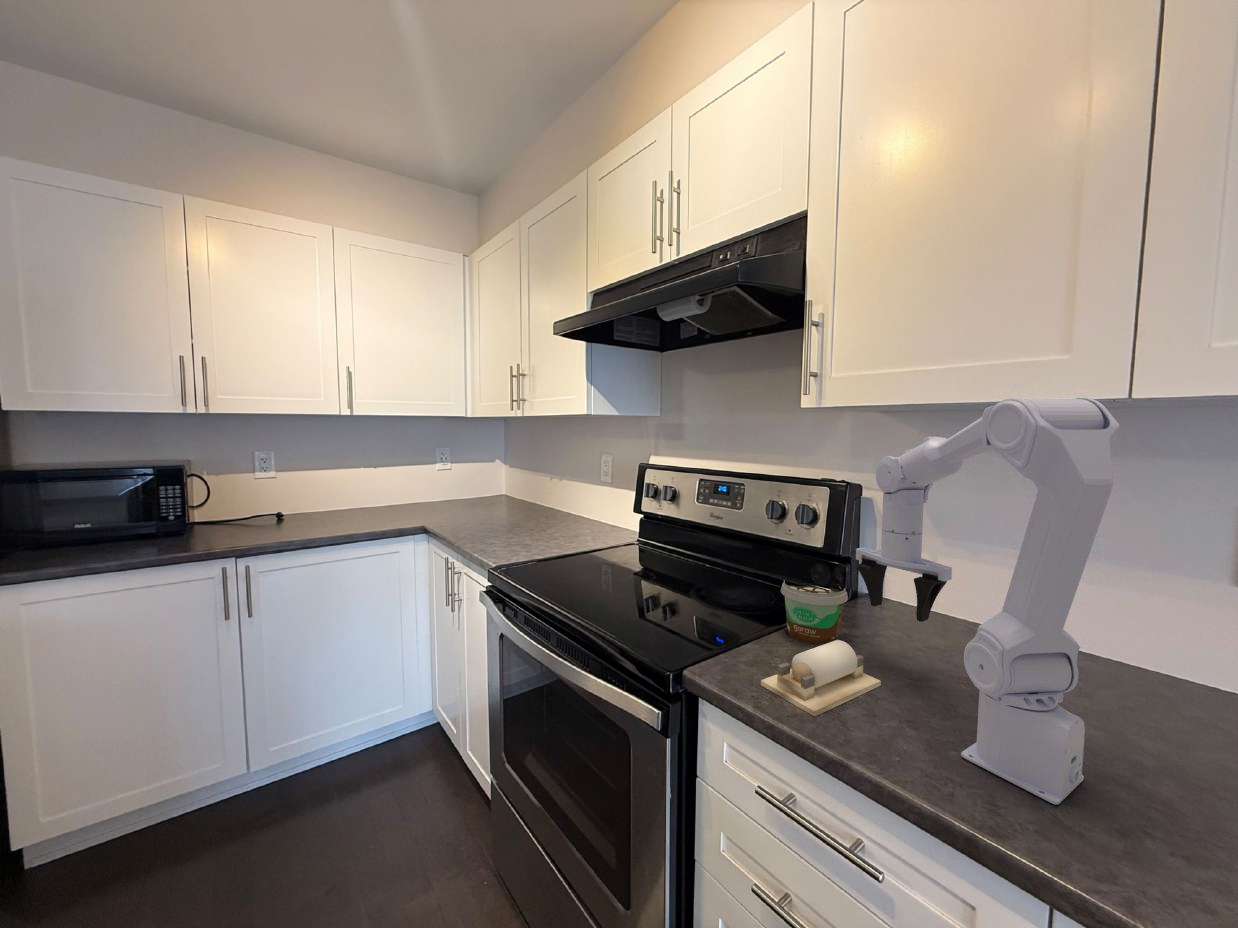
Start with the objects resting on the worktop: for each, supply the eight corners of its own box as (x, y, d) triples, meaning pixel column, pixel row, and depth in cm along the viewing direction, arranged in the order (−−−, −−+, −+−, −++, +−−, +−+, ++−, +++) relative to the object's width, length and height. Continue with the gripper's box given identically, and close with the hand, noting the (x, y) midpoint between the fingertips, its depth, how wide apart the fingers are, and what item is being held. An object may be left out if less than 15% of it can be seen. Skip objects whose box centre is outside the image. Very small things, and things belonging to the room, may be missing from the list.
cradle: (880, 685, 78) (881, 661, 78) (814, 716, 70) (815, 689, 70) (825, 660, 87) (826, 637, 87) (760, 684, 79) (761, 660, 78)
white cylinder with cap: (854, 677, 80) (869, 656, 78) (803, 699, 74) (818, 677, 71) (830, 652, 84) (843, 630, 82) (779, 670, 78) (792, 648, 75)
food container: (774, 639, 96) (775, 588, 95) (780, 627, 101) (781, 579, 100) (844, 652, 90) (846, 598, 89) (846, 639, 95) (848, 588, 95)
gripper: (963, 536, 76) (959, 621, 77) (873, 520, 89) (871, 594, 90) (939, 541, 73) (935, 631, 74) (849, 525, 85) (846, 602, 86)
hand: (898, 612), depth 81 cm, fingers open, 7 cm apart
